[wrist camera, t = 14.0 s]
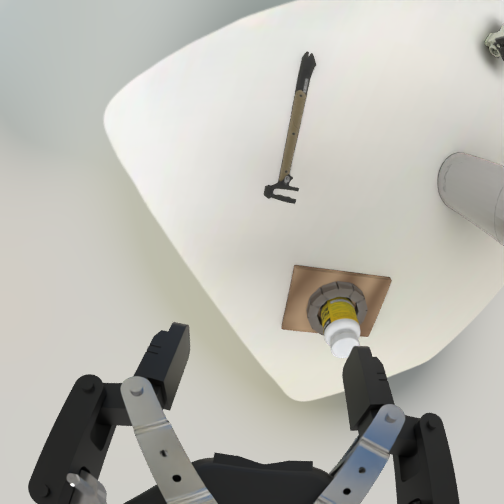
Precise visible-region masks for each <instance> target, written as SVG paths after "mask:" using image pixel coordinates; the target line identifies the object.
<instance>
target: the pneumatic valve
mask: <svg viewBox="0 0 504 504" xmlns="http://www.w3.org/2000/svg"><path fill="white" fill-rule="evenodd" d="M485 45H486V46H489V51H490V52H491V53H492V54H493V55H494V56H495V57H496V58H497V57H499V56H501V57H502V59H503V60H504V23H503V25H502V27H501V29H500V31H498V32H496V33H490V34H489V36H488V37H487V39H486V41H485Z"/></svg>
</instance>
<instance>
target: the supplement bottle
mask: <svg viewBox="0 0 504 504" xmlns="http://www.w3.org/2000/svg"><path fill="white" fill-rule="evenodd" d="M320 312H321V319H322V326H323V333H324V338H325V341H326V343H327V344H328V345H329V346H330V347H331V352H332V354H333V355H334V356H335V357H338V358H347V357H349V354H350V352H351V350H352V348H353V347H354V346H359V341H358V339H359V337H360V332H361V331H360V326H359V322H358V319H357V316H356V313H355V309H354V306H353V303H352V301H351V299H350V298H346V297H336V298H333V299H330V300H327V301H326V302H325V303H324V304H323V305H322V306H321V307H320Z"/></svg>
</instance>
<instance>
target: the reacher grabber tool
mask: <svg viewBox="0 0 504 504" xmlns="http://www.w3.org/2000/svg"><path fill="white" fill-rule="evenodd" d="M308 54H309V52H306V53H305V54H304V56H303V57H302V61H301V66H300V71H299V75H298V79H297V85H296V90H295V96H294V101H293V106H292V112H291V114H292V115H291V119H290V123H289V129H288V134H287V139H286V144H285V150H284V155H283V160H282V165H281V170H280V176H279V181H278V183H277V184H275V185H272V186H270V185H268V186H265V191H264V195H265V196H266V197H267V198H268V199H269V198H271V197H272V198H275V199H278V200H281V201H285V202H288V203H294V204H295V202H296V199H292V198H290V197H284V196H281V195H274V194H273V191H274V189H287V190H294V191H298V190H299V188H295V187H290V186H289V182H290V181H291V180H292V179H293V177H291V176H290V175H289V173H290V167H291V163H292V159H293V158H292V157H293V153H294V150H295V145H296V141H297V137H298V133H299V128H300V124H301V118H302V114H303V109H304V104H305V101H306V100H305V99H306V96H307V91H308V86H309V82H310V77H311V74H312V71H313V69H314V67H315V66H316V63H315V59H314V56H313V54H312V53H311V54H310V56H309V57H308Z"/></svg>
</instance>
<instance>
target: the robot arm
mask: <svg viewBox="0 0 504 504" xmlns="http://www.w3.org/2000/svg"><path fill="white" fill-rule="evenodd" d="M438 188H439V193H440V196H441V198H442V200H443V202H444V203H445V204H446V205H447V206H448V207H450V208H451V209H453V210H454V211H456V212H457V213H459V214H460V215H462V216H463V217H465V218H466V219H467V220H469V221H470V222H472V223H473V224H475V225H476V226H478V227H479V228H480V229H482V230H483V231H484V232H486V233H487V234H489V235H490V236H491V237H493V238H494V239H495V240H497V241H498V242H499V243H500V244H502V245H503V246H504V166H502V165H500V164H497V163H494V162H491V161H488V160H485V159H482V158H479V157H475V156H472V155H469V154H465V153H455V154H453V155H451V156H449V157H448V158H447V159H446V160H445V162H444V163H443V165H442V167H441V169H440V172H439V177H438ZM189 336H190V335H189V325H186V324H181V323H176V322H174V323H172V325H171V327H170V329H169V331H168V332H167V331H162V330H161V331H160V332H159V333H158V334H156V335H155V336H154V337H153V339H152V341H151V343H150V346H149V347H148V349H147V352H146V353H145V355H144V357H143V359H142V361H141V362H140V364H139V367H138V369H137V370H136V372H135V374H134V376H133V377H130V378H128V379H126V380H125V381H124V382H123V383H102V381H101V379H100V378H99V377H97V376H95V375H84V376H82V377H80V378H79V379H78V380H77V381H76V382H75V384H74V386H73V388H72V390H71V392H70V394H69V396H68V398H67V400H66V402H65V403H64V405H63V407H62V409H61V411H60V413H59V415H58V417H57V419H56V421H55V423H54V426H53V428H52V430H51V432H50V434H49V437H48V438H47V441H46V443H45V445H44V447H43V450H42V452H41V454H40V457H39V459H38V461H37V464H36V466H35V469H34V471H33V474H32V476H31V479H30V481H29V485H28V489H29V493H30V496H31V498H32V499H33V500H34V501H35V502H36V503H37V504H107V503H106V490H105V488H104V486H103V485H102V484H101V483H100V482H99V481H98V478H99V475H100V472H101V469H102V466H103V463H104V459H105V457H106V453H107V451H108V448H109V445H110V442H111V439H112V436H113V434H114V431H115V428H116V425H122V426H133V428H134V433H135V436H136V438H137V441H138V443H139V446H140V448H141V450H142V453H143V455H144V457H145V460H146V462H147V464H148V466H149V468H150V471H151V473H152V475H153V477H154V479H155V481H156V483H157V485H155V486H153V487H152V488H150V489H148V490H147V491H145V492H143V493H142V494H140V495H138V496H137V497H135V498H133V499H131V500H129V501H127V502H126V503H124V504H360V503H361V502H362V500H363V499H364V497H365V496H366V495H367V493H368V492H369V490H370V488H371V487H372V486H373V484H374V482H375V481H376V479H377V478H378V476H379V474H380V473H381V471H382V469H383V468H384V466H385V464H386V462H387V461H388V459H389V457H390V454H393V461H394V469H395V480H396V492H397V504H459V497H458V491H457V484H456V479H455V473H454V468H453V463H452V458H451V454H450V449H449V445H448V441H447V437H446V433H445V429H444V426H443V422H442V420H441V419H440V417H439V416H437V415H436V414H433V413H426V414H424V415H423V416H422V417H421V418H415V417H410V416H406V415H405V414H404V412H403V411H402V409H401V408H400V407H398V406H396V405H395V404H394V401H393V397H392V394H391V390H390V387H389V383H388V381H387V377H386V374H385V370H384V367H383V364H382V363H381V362H380V360H379V359H378V358H377V357H372V354H371V350H370V348H369V347H367V346H354V347H353V348H352V350H351V352H350V354H349V357H348V359H347V361H346V363H345V365H344V368H343V374H342V376H343V383H344V389H345V395H346V402H347V409H348V415H349V423H350V430H352V431H354V430H358V432H359V435H358V437H357V438H356V439H355V441H354V442H353V444H352V445H351V446H350V448H349V449H348V451H347V452H346V453H345V455H344V456H343V457H342V459H341V460H340V461H339V462H338V464H337V465H336V466H335V467H334V468H333V470H332V471H331V472H330V473H329V474H328V473H327V472H325V471H323V470H321V469H318V468H315V467H313V462H312V461H285V462H279V463H272V464H260V463H257V462H254V461H251V460H248V459H245V458H242V457H239V456H233V455H227V454H220V453H215V454H214V458H205V459H200V460H197V461H194V462H190V460H189V458H188V456H187V454H186V453H185V451H184V449H183V447H182V445H181V443H180V441H179V440H178V438H177V436H176V434H175V432H174V430H173V428H172V426H171V424H170V422H169V421H168V420H167V419H166V417H165V414H164V412H163V409H166V410H170V409H171V406H172V403H173V400H174V397H175V395H176V392H177V389H178V386H179V383H180V380H181V377H182V375H183V372H184V369H185V366H186V363H187V361H188V358H189V353H190V337H189Z"/></svg>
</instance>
